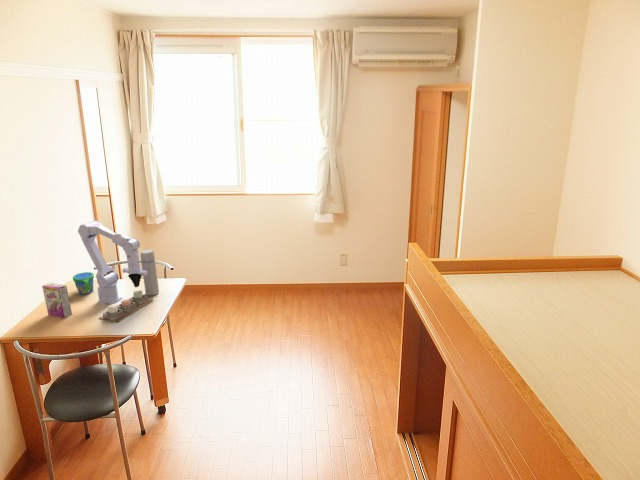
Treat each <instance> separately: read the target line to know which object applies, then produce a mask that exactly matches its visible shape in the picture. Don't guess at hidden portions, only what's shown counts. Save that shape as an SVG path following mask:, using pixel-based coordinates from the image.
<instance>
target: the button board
mask: <svg viewBox="0 0 640 480" xmlns="http://www.w3.org/2000/svg"><path fill="white" fill-rule="evenodd" d="M128 300H130V301H131V305H130V306H128V307H123V306H122V304H121V303H119V304H116V305H117V307H118V313H116V314H114V315H111V314H109V313H108V310H107V311H105V312H104V313H102V315H101V316H99V317H98V320H101V321H106V322H107V321H108V322H112V323H116V324H117V323H120V322H122V321H123V320H125V319H126V318H128V317H129V316H131V315H132V314H134V313H136V312H138V311H139V310H141V309H142V308H144V307H146V306H148V305H149V304H151V303H153V302H154V300H153V299H149V295H147V294H146V295H145V294H143V298H142V299H140V300H136V299H134V295H133V296H132V297H130V298H128Z"/></svg>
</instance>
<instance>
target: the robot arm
mask: <svg viewBox="0 0 640 480" xmlns="http://www.w3.org/2000/svg"><path fill="white" fill-rule="evenodd" d="M77 233H78V234H79V236H80V238H81V241H82V243H83V245H84V247H85V249H86V251H87V253H88V255H89V257H90V258H91V260H92V263H93V264H94V266H95V268H96V271H97V273H96V275H95V278H96V283H97V285H98V287H97V294H98V300H97V301H98V303H104V304H109V305H113V304H116V302H118V301H120V300H123V297H121V296H119V293H118V288H117V287H118V286H117V284H118V281H119V279H120V278H119V274H118V273H117V272H116V271H115V269H114V268H113V267H110V266H109V265H108V264H107V263H108V262H107V261H106V260H105V258H104V255H103V254H102V252H101V250H100V247H99V245H98V244H97V242H96V237H97V236H98V235H101V236H102V237H105V238H108V239H110V240H111V241H112V242H111V243H113V244H115V245H116V246H119V247H121V248H122V250H123V251H124V252H125V256H126V261H127V267H124V268H122V273H123V274H124V273H127V274H128V276H127V277H128V278H129V279H130V280H131V282H132V284H133V286H134V288H139V287H140V282H141V278H142V276H143V275H144V276H146V275H148V272H147V271H145V270H142V268H141V263H140V256H139V248H140V245H141V244H140V242H139V240H138V239H137V238H134V237H133V238H132V237H131V238H130V237H128V236H126V235H124V234H123V233H121V232H116V233H115V232H114V231H112V230H110V229H109V228H107V227H105V226H104V225H103V223H102V222H99V221H98V220H92V221H90V222H88V223H84V224H81V225H79V227H78V230H77Z"/></svg>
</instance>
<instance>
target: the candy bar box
mask: <svg viewBox="0 0 640 480" xmlns="http://www.w3.org/2000/svg"><path fill="white" fill-rule="evenodd" d="M42 291H43V292H42V293H43V296H44V300H45V305H46V310H47V314H48V316H53V317H56V318H57V317H58V318H62V319H65V318H68V317H70V316H71V315H73V312H72V308H71V301H70V297H69V292H68V287H67V285H66V284H60V283H54V282H48V283H46V284H43V285H42Z"/></svg>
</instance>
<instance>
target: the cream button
mask: <svg viewBox="0 0 640 480" xmlns="http://www.w3.org/2000/svg"><path fill="white" fill-rule="evenodd" d="M117 305H118V304H116V303H113V304H109V305H108V306H107V311H108V313H109V314H111V315H114V314H116V313H118V307H117Z"/></svg>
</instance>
